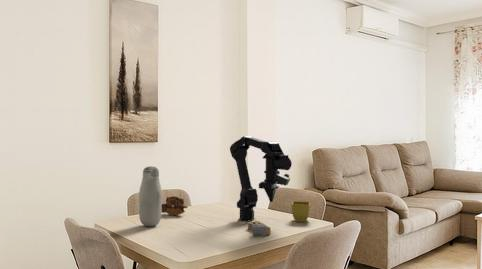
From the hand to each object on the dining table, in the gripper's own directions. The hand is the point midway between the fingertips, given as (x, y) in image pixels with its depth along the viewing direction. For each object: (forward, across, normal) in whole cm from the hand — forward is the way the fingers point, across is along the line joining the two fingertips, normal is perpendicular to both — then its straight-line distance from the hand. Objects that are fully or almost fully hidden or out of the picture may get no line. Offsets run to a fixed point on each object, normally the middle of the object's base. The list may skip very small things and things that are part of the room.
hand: (271, 201), depth 192 cm
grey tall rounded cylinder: (+12, -23, +52) cm, 58 cm away
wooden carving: (+12, +3, +56) cm, 57 cm away
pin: (+11, -8, +4) cm, 15 cm away
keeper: (+11, -18, -1) cm, 21 cm away
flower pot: (+12, +17, -10) cm, 23 cm away
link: (+11, -12, +1) cm, 17 cm away
